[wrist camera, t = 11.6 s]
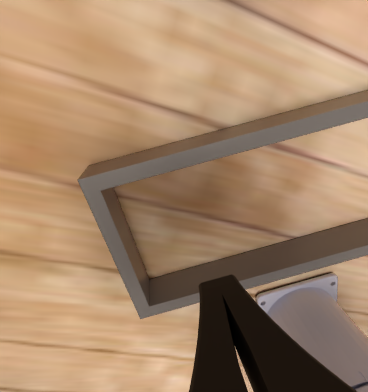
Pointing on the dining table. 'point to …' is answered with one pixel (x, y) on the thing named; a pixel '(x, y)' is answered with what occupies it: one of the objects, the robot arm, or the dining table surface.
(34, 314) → the dining table surface
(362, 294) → the dining table surface
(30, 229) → the dining table surface
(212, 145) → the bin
